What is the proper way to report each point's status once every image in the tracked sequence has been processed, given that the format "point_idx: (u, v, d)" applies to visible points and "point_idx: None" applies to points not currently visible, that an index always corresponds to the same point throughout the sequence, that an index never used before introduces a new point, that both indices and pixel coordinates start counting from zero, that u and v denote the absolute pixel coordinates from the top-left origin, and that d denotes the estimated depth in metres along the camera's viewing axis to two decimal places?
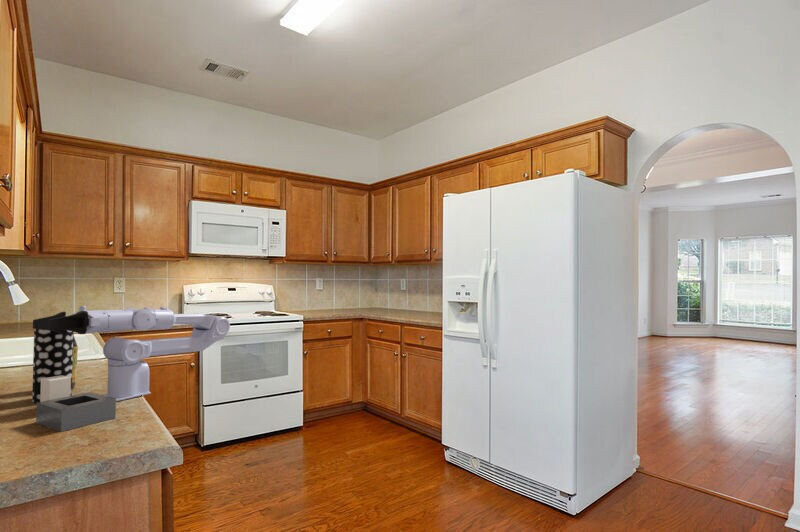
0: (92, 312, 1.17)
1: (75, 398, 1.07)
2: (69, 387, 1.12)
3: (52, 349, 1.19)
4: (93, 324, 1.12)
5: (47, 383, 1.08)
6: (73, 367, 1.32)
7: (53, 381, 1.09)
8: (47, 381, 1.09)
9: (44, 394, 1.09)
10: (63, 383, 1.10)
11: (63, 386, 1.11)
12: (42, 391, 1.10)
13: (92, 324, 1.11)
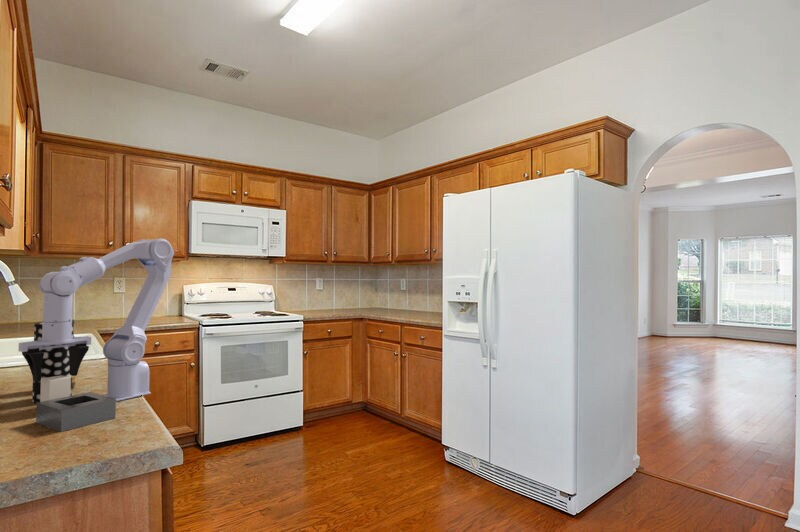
0: None
1: (75, 398, 1.07)
2: (69, 387, 1.12)
3: (52, 349, 1.19)
4: (21, 349, 1.05)
5: (47, 383, 1.08)
6: None
7: (53, 381, 1.09)
8: (47, 381, 1.09)
9: (44, 394, 1.09)
10: (63, 383, 1.10)
11: (63, 386, 1.11)
12: (42, 391, 1.10)
13: (21, 350, 1.05)
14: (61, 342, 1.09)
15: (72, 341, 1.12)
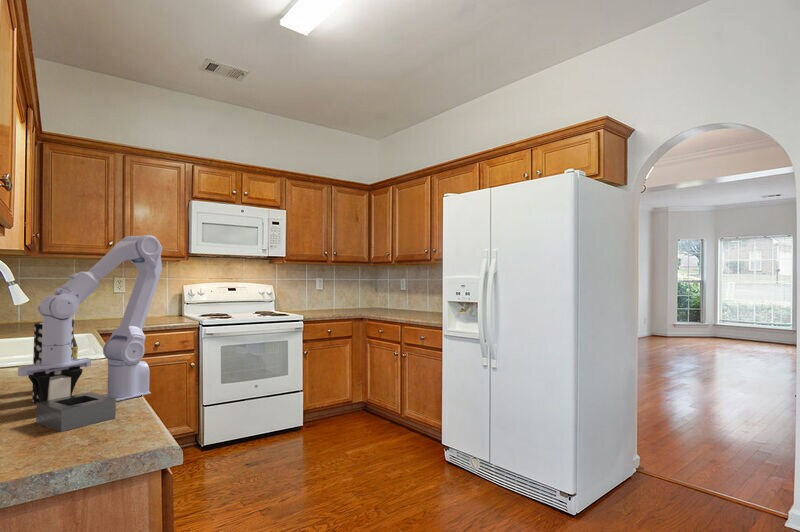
0: None
1: (75, 398, 1.07)
2: (69, 387, 1.12)
3: None
4: (21, 374, 1.05)
5: None
6: None
7: (53, 381, 1.09)
8: None
9: None
10: (63, 383, 1.10)
11: (63, 386, 1.11)
12: None
13: (21, 375, 1.05)
14: (60, 365, 1.09)
15: (72, 364, 1.12)
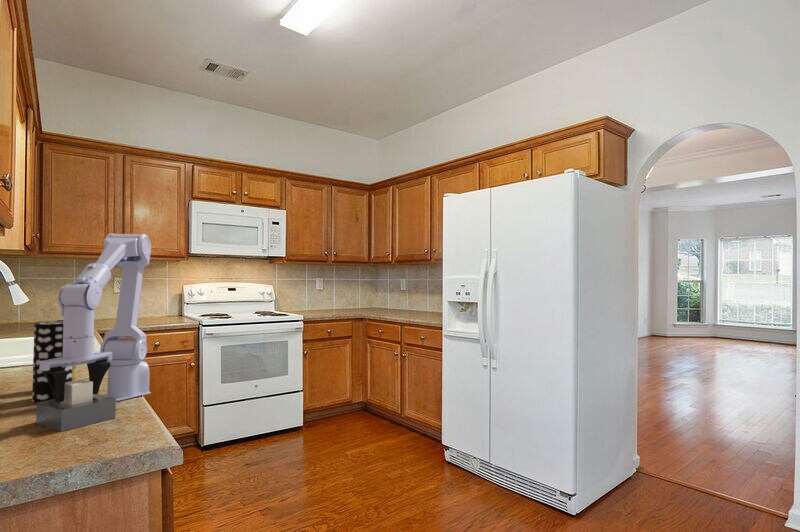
0: None
1: None
2: (91, 392, 1.05)
3: (52, 349, 1.19)
4: (43, 368, 0.98)
5: (69, 388, 1.02)
6: (73, 367, 1.32)
7: (75, 386, 1.02)
8: (69, 386, 1.02)
9: (65, 400, 1.02)
10: (85, 388, 1.04)
11: (86, 391, 1.04)
12: None
13: (43, 369, 0.98)
14: (84, 359, 1.03)
15: (95, 357, 1.05)
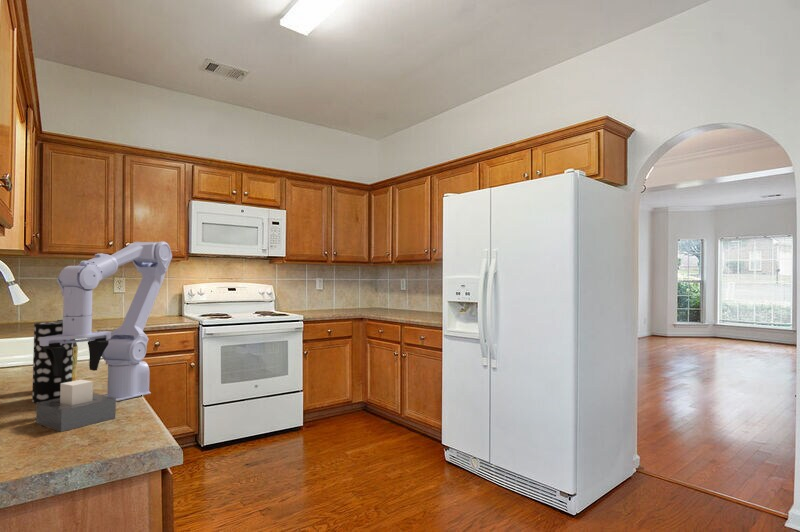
0: None
1: None
2: (91, 392, 1.05)
3: None
4: (42, 343, 1.04)
5: (69, 388, 1.02)
6: (73, 367, 1.32)
7: (75, 386, 1.02)
8: (69, 386, 1.02)
9: (65, 400, 1.02)
10: (85, 388, 1.04)
11: (86, 391, 1.04)
12: (62, 397, 1.03)
13: (42, 344, 1.04)
14: (82, 336, 1.09)
15: (92, 335, 1.11)
